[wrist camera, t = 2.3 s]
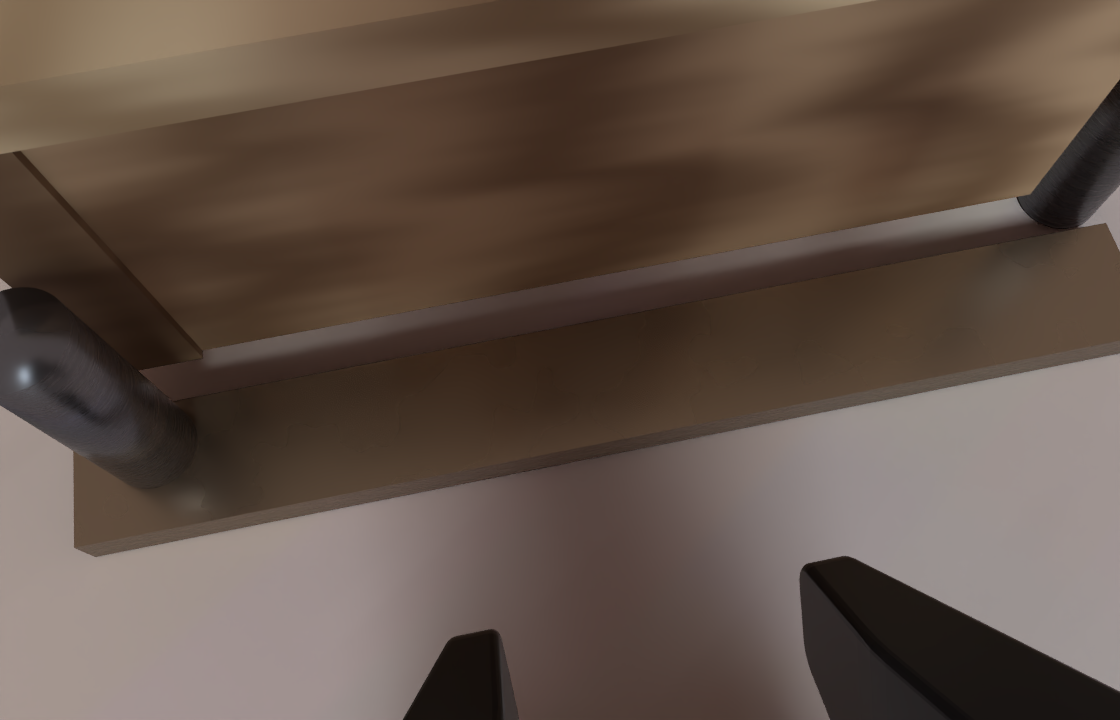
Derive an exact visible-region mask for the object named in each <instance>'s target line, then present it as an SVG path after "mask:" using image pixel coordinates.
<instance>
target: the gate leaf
mask: <svg viewBox="0 0 1120 720" xmlns="http://www.w3.org/2000/svg"><path fill="white" fill-rule="evenodd" d="M1119 80H1120V0H0V278H1V279H2V280H3V281H5V282H6V283H7V284H8V285H9V286H11V287H12V288H18V287H31V288H37V289H41V290H44V291H46V292H48V293H50V294H52V295H53V296H55V297H56V298H57V299H58V300H59V301H61V302H62V303H63V304H64V305H65V306H66V307H67V308H68V309H70V310H71V311H72V312H73V313H74V314H75V315H76V316H77V317H78V318H80V319H81V320H82V321H83V322H84V323H85V324H86V325H87V326H89V327H90V328H91V329H92V330H93V331H94V332H95V333H96V334H98V335H99V336H100V337H101V338H102V339H103V340H104V341H105V342H106V343H108V344H109V345H110V346H111V347H112V348H113V349H114V350H115V351H117V352H118V353H119V354H120V355H121V356H122V357H123V358H124V359H126V360H127V361H128V362H129V363H130V364H131V365H132V366H133V367H134V368H136V369H137V370H143V369H148V368H154V367H159V366H164V365H169V364H175V363H180V362H185V361H191V360H196V359H201V358H203V351H202V350H207V349H212V348H217V347H223V346H228V345H233V344H239V343H244V342H249V341H255V340H260V339H265V338H271V337H276V336H281V335H286V334H292V333H297V332H302V331H308V330H313V329H318V328H324V327H329V326H334V325H340V324H345V323H350V322H355V321H361V320H366V319H371V318H377V317H382V316H387V315H393V314H398V313H403V312H408V311H414V310H419V309H424V308H430V307H435V306H440V305H446V304H451V303H456V302H462V301H467V300H472V299H477V298H483V297H488V296H493V295H499V294H504V293H509V292H515V291H520V290H525V289H530V288H536V287H541V286H546V285H552V284H557V283H562V282H568V281H573V280H578V279H584V278H589V277H594V276H599V275H605V274H610V273H615V272H621V271H626V270H631V269H637V268H642V267H647V266H653V265H658V264H663V263H668V262H674V261H679V260H684V259H690V258H695V257H700V256H706V255H711V254H716V253H721V252H727V251H732V250H737V249H743V248H748V247H753V246H759V245H764V244H769V243H775V242H780V241H785V240H790V239H796V238H801V237H806V236H812V235H817V234H822V233H828V232H833V231H838V230H843V229H849V228H854V227H859V226H865V225H870V224H875V223H881V222H886V221H891V220H897V219H902V218H907V217H912V216H918V215H923V214H928V213H934V212H939V211H944V210H950V209H955V208H960V207H966V206H971V205H976V204H981V203H987V202H992V201H997V200H1003V199H1008V198H1013V197H1019V196H1024V195H1029V194H1031V193H1032V191H1033V190H1034V189H1035V188H1036V186H1037V185H1038V184H1039V182H1040V181H1041V180H1042V179H1043V177H1044V176H1045V175H1046V173H1047V172H1048V171H1049V170H1050V168H1051V167H1052V166H1053V164H1054V163H1055V162H1056V161H1057V159H1058V158H1059V157H1060V155H1061V154H1062V153H1063V152H1064V150H1065V149H1066V148H1067V146H1068V145H1069V144H1070V143H1071V141H1072V140H1073V139H1074V137H1075V136H1076V135H1077V134H1078V132H1079V131H1080V130H1081V128H1082V127H1083V126H1084V125H1085V123H1086V122H1087V121H1088V119H1089V118H1090V117H1091V116H1092V114H1093V113H1094V112H1095V110H1096V109H1097V108H1098V107H1099V105H1100V104H1101V103H1102V101H1103V100H1104V99H1105V98H1106V96H1107V95H1108V94H1109V92H1110V91H1111V90H1112V89H1113V87H1114V86H1115V85H1116V83H1117V82H1118V81H1119Z"/></svg>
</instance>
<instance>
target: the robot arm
mask: <svg viewBox="0 0 1120 720" xmlns="http://www.w3.org/2000/svg"><path fill="white" fill-rule="evenodd" d="M800 596H801V609H802V623H803V636H804V646H805V652H806V656H807V660H808V664H809V667H810V670H811V673H812V675H813V678H814V680H815V683H816V685H817V688H818V690H819V693H820V695H821V698H822V700H823V703H824V705H825V708H826V710H827V713H828V715H829V718H830V720H1120V691H1118V690H1116V689H1114V688H1112V687H1110V686H1108V685H1106V684H1104V683H1102V682H1100V681H1098V680H1096V679H1094V678H1092V677H1090V676H1088V675H1086V674H1084V673H1082V672H1080V671H1078V670H1076V669H1074V668H1072V667H1070V666H1068V665H1066V664H1064V663H1062V662H1060V661H1058V660H1056V659H1054V658H1052V657H1050V656H1048V655H1046V654H1044V653H1042V652H1040V651H1038V650H1036V649H1034V648H1032V647H1030V646H1028V645H1026V644H1024V643H1022V642H1020V641H1018V640H1016V639H1014V638H1012V637H1010V636H1008V635H1006V634H1004V633H1002V632H1000V631H998V630H996V629H994V628H992V627H990V626H988V625H986V624H984V623H982V622H980V621H978V620H976V619H974V618H972V617H970V616H968V615H966V614H964V613H962V612H960V611H958V610H956V609H954V608H952V607H950V606H948V605H946V604H944V603H942V602H940V601H938V600H936V599H934V598H932V597H930V596H928V595H926V594H924V593H922V592H920V591H918V590H916V589H914V588H912V587H910V586H908V585H906V584H904V583H902V582H900V581H898V580H896V579H894V578H892V577H890V576H888V575H886V574H884V573H882V572H880V571H878V570H876V569H874V568H872V567H870V566H868V565H866V564H864V563H862V562H860V561H858V560H856V559H854V558H851V557H848V556H841V557H836V558H831V559H827V560H822V561H817V562H812V563H808V564H806V565H805V566H804V567H803V568H802V570H801V572H800ZM403 720H519V717H518V712H517V707H516V702H515V697H514V693H513V688H512V684H511V679H510V675H509V670H508V666H507V661H506V657H505V652H504V647H503V643H502V639H501V637H500V634H499V633H498V632H497V631H496V630H494V629H489V630H484V631H479V632H474V633H470V634H465V635H460V636H456V637H453V638H451V639H450V640H449V641H448V642H447V644H446V645H445V647H444V649H443V651H442V652H441V654H440V656H439V658H438V659H437V661H436V663H435V665H434V666H433V668H432V670H431V671H430V673H429V675H428V677H427V678H426V680H425V682H424V684H423V685H422V687H421V689H420V691H419V692H418V694H417V696H416V698H415V699H414V701H413V703H412V705H411V706H410V708H409V710H408V712H407V713H406V715H405V717H404V719H403Z"/></svg>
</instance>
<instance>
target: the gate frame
mask: <svg viewBox="0 0 1120 720" xmlns="http://www.w3.org/2000/svg"><path fill="white" fill-rule="evenodd" d="M1119 185H1120V80H1119V81H1118V82H1117V83H1116V85H1115V86H1114V87H1113V89H1112V90H1111V91H1110V92H1109V94H1108V95H1107V96H1106V98H1105V99H1104V100H1103V101H1102V103H1101V104H1100V105H1099V107H1098V108H1097V109H1096V110H1095V112H1094V113H1093V114H1092V116H1091V117H1090V118H1089V119H1088V121H1087V122H1086V123H1085V125H1084V126H1083V127H1082V128H1081V130H1080V131H1079V132H1078V134H1077V135H1076V136H1075V137H1074V139H1073V140H1072V141H1071V143H1070V144H1069V145H1068V146H1067V148H1066V149H1065V150H1064V152H1063V153H1062V154H1061V155H1060V157H1059V158H1058V159H1057V161H1056V162H1055V163H1054V164H1053V166H1052V167H1051V168H1050V170H1049V171H1048V172H1047V173H1046V175H1045V176H1044V177H1043V179H1042V180H1041V181H1040V182H1039V184H1038V185H1037V186H1036V188H1035V189H1034V190H1033V191H1032V193H1031V194H1029V195H1024V196H1019V197H1018V200H1019V202H1020V204H1021V206H1022V208H1023V209H1024V210H1025V212H1026V213H1027V214H1028V215H1029V216H1031V217H1032V218H1033V219H1034V220H1036V221H1038V222H1039V223H1041V224H1044V225H1046V226H1049V227H1053V228H1060V229H1067V228H1073V227H1076V226H1079V225H1081V224H1083V223H1085V222H1086V221H1087V220H1088V219H1089V218H1090V217H1091V216H1092V215H1093V214H1094V213H1095V212H1096V210H1097V209H1098V208H1099V207H1100V206H1101V205H1102V204H1103V203H1104V202H1105V201H1106V200H1107V198H1108V197H1109V196H1110V195H1111V194H1112V193H1113V192H1114V191H1115V190H1116V189H1117V188H1118V187H1119ZM1118 353H1120V251H1119V249H1118V247H1117V245H1116V243H1115V241H1114V239H1113V237H1112V235H1111V233H1110V230H1109V228H1108V226H1107V224H1106V223H1104V224H1098V225H1093V226H1088V227H1083V228H1078V229H1072V230H1067V231H1062V232H1057V233H1051V234H1046V235H1041V236H1036V237H1030V238H1025V239H1020V240H1015V241H1009V242H1004V243H999V244H994V245H989V246H983V247H978V248H973V249H968V250H962V251H957V252H952V253H947V254H941V255H936V256H931V257H926V258H920V259H915V260H910V261H905V262H900V263H894V264H889V265H884V266H879V267H873V268H868V269H863V270H858V271H852V272H847V273H842V274H837V275H832V276H826V277H821V278H816V279H811V280H805V281H800V282H795V283H790V284H784V285H779V286H774V287H769V288H763V289H758V290H753V291H748V292H743V293H737V294H732V295H727V296H722V297H716V298H711V299H706V300H701V301H695V302H690V303H685V304H680V305H674V306H669V307H664V308H659V309H654V310H648V311H643V312H638V313H633V314H627V315H622V316H617V317H612V318H606V319H601V320H596V321H591V322H585V323H580V324H575V325H570V326H565V327H559V328H554V329H549V330H544V331H538V332H533V333H528V334H523V335H517V336H512V337H507V338H502V339H496V340H491V341H486V342H481V343H476V344H470V345H465V346H460V347H455V348H449V349H444V350H439V351H434V352H428V353H423V354H418V355H413V356H408V357H402V358H397V359H392V360H387V361H381V362H376V363H371V364H366V365H360V366H355V367H350V368H345V369H339V370H334V371H329V372H324V373H319V374H313V375H308V376H303V377H298V378H292V379H287V380H282V381H277V382H271V383H266V384H261V385H256V386H250V387H245V388H240V389H235V390H230V391H224V392H219V393H214V394H209V395H203V396H198V397H193V398H188V399H182V400H177V401H171V400H170V399H169V398H168V397H167V396H166V395H165V394H164V393H162V392H161V391H160V390H159V389H158V388H157V387H156V386H155V385H154V384H152V383H151V382H150V381H149V380H148V379H147V378H146V377H145V376H143V375H142V374H141V373H140V372H139V371H138V370H137V369H136V368H134V367H133V366H132V365H131V364H130V363H129V362H128V361H127V360H126V359H124V358H123V357H122V356H121V355H120V354H119V353H118V352H117V351H115V350H114V349H113V348H112V347H111V346H110V345H109V344H108V343H106V342H105V341H104V340H103V339H102V338H101V337H100V336H99V335H98V334H96V333H95V332H94V331H93V330H92V329H91V328H90V327H89V326H87V325H86V324H85V323H84V322H83V321H82V320H81V319H80V318H78V317H77V316H76V315H75V314H74V313H73V312H72V311H71V310H70V309H68V308H67V307H66V306H65V305H64V304H63V303H62V302H61V301H59V300H58V299H57V298H56V297H55V296H53V295H52V294H50V293H48V292H46V291H44V290H41V289H37V288H31V287H18V288H11V289H7V290H3V291H1V292H0V405H1V406H2V407H4V408H5V409H7V410H9V411H10V412H12V413H14V414H15V415H17V416H18V417H20V418H22V419H23V420H25V421H26V422H28V423H30V424H31V425H33V426H34V427H36V428H38V429H39V430H41V431H42V432H44V433H46V434H47V435H49V436H50V437H52V438H54V439H55V440H57V441H58V442H60V443H62V444H63V445H65V446H67V447H68V448H70V449H71V450H73V453H74V548H76V549H78V550H81V551H83V552H85V553H87V554H90V555H92V556H94V557H97V556H102V555H107V554H112V553H117V552H122V551H127V550H132V549H137V548H142V547H147V546H152V545H157V544H163V543H168V542H173V541H178V540H183V539H188V538H193V537H198V536H203V535H208V534H213V533H218V532H223V531H228V530H233V529H238V528H243V527H248V526H253V525H258V524H263V523H268V522H273V521H278V520H283V519H288V518H293V517H298V516H303V515H308V514H313V513H318V512H323V511H328V510H333V509H339V508H344V507H349V506H354V505H359V504H364V503H369V502H374V501H379V500H384V499H389V498H394V497H399V496H404V495H409V494H414V493H419V492H424V491H429V490H434V489H439V488H444V487H449V486H454V485H459V484H464V483H469V482H474V481H479V480H484V479H489V478H494V477H499V476H504V475H509V474H515V473H520V472H525V471H530V470H535V469H540V468H545V467H550V466H555V465H560V464H565V463H570V462H575V461H580V460H585V459H590V458H595V457H600V456H605V455H610V454H615V453H620V452H625V451H630V450H635V449H640V448H645V447H650V446H655V445H660V444H665V443H670V442H675V441H680V440H685V439H690V438H696V437H701V436H706V435H711V434H716V433H721V432H726V431H731V430H736V429H741V428H746V427H751V426H756V425H761V424H766V423H771V422H776V421H781V420H786V419H791V418H796V417H801V416H806V415H811V414H816V413H821V412H826V411H831V410H836V409H841V408H846V407H851V406H856V405H861V404H866V403H872V402H877V401H882V400H887V399H892V398H897V397H902V396H907V395H912V394H917V393H922V392H927V391H932V390H937V389H942V388H947V387H952V386H957V385H962V384H967V383H972V382H977V381H982V380H987V379H992V378H997V377H1002V376H1007V375H1012V374H1017V373H1022V372H1027V371H1032V370H1037V369H1042V368H1048V367H1053V366H1058V365H1063V364H1068V363H1073V362H1078V361H1083V360H1088V359H1093V358H1098V357H1103V356H1108V355H1113V354H1118Z"/></svg>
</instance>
